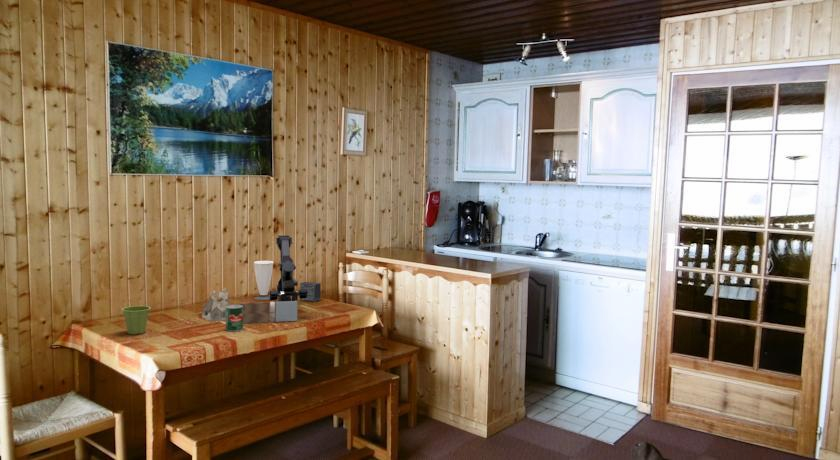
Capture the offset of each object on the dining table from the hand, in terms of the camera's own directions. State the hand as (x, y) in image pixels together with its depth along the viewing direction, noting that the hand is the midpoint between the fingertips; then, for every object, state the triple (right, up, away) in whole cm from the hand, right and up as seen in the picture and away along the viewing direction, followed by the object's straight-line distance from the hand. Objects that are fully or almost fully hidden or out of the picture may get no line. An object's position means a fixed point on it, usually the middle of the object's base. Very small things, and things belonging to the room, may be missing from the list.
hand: (289, 308), depth 297 cm
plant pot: (-64, -8, -26) cm, 69 cm away
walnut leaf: (-15, -6, -4) cm, 17 cm away
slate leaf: (-3, -6, -1) cm, 7 cm away
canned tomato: (-22, -8, -17) cm, 29 cm away
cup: (-28, -1, +55) cm, 62 cm away
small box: (+1, -2, +51) cm, 51 cm away
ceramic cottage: (-39, -5, +6) cm, 40 cm away
